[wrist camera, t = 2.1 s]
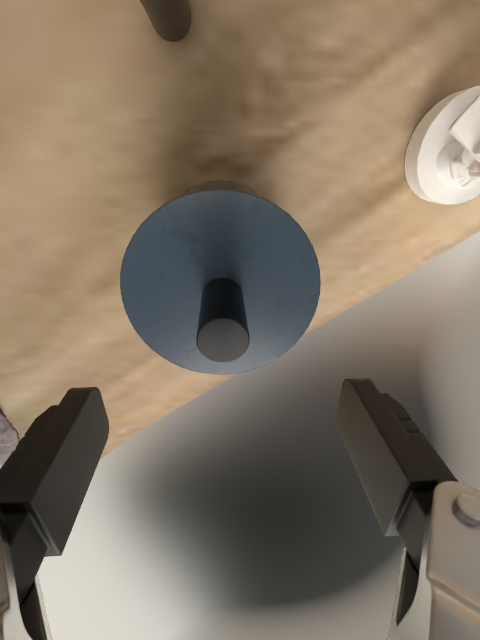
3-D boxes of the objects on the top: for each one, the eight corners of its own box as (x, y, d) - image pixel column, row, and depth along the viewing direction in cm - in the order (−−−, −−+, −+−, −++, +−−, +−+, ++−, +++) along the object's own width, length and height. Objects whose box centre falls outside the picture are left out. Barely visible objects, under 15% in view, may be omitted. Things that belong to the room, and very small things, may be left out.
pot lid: (218, 133, 15) (216, 120, 9) (351, 286, 19) (401, 336, 14) (86, 291, 18) (32, 346, 13) (224, 389, 22) (226, 461, 17)
